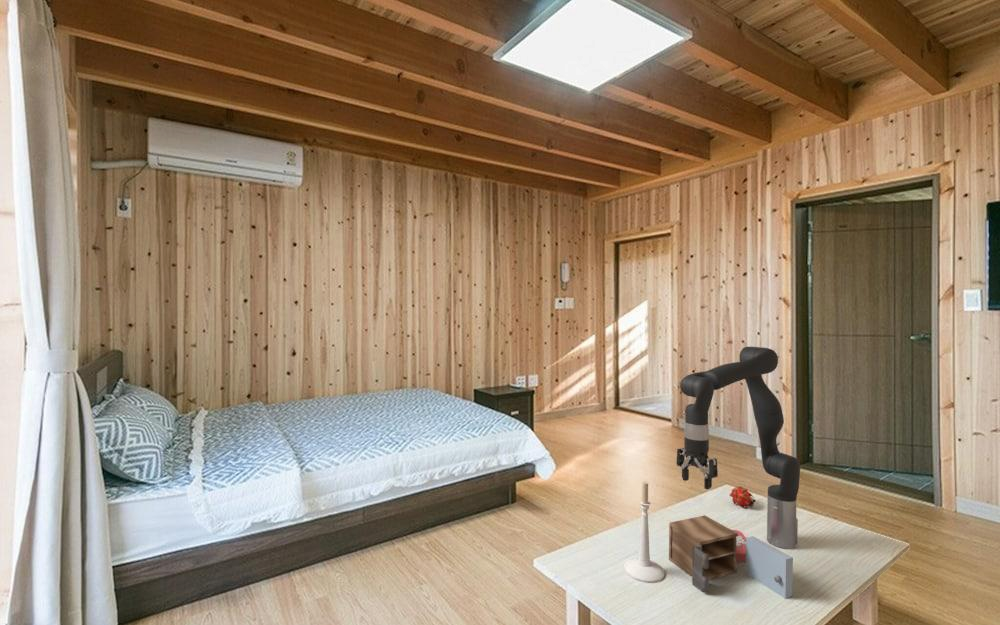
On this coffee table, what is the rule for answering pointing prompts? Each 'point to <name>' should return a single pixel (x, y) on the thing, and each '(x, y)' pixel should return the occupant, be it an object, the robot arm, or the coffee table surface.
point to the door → (769, 566)
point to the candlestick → (644, 550)
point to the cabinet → (702, 549)
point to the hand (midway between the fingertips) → (696, 484)
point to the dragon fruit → (742, 497)
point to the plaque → (740, 547)
